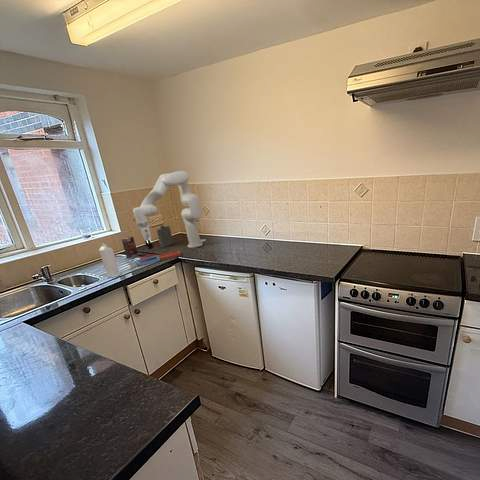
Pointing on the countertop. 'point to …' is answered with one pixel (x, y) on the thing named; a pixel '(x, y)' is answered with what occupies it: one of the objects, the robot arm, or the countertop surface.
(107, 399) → the countertop surface
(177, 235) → the countertop surface
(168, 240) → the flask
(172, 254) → the terracotta tray
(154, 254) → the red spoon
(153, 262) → the pale blue tray
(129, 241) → the supplement box
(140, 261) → the blue spoon
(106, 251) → the milk
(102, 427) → the countertop surface
